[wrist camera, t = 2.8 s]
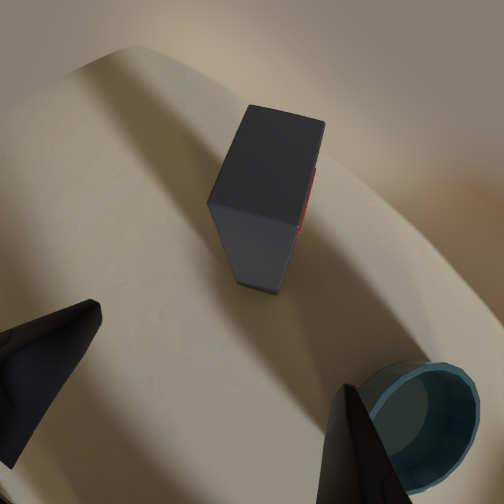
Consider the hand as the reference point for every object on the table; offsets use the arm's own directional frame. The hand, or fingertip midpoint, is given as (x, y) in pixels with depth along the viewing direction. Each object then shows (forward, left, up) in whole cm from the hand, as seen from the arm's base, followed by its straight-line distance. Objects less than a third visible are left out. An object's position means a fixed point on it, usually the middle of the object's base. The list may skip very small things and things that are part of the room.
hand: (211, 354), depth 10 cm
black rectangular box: (+5, +5, -13) cm, 15 cm away
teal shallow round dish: (+9, -12, -13) cm, 20 cm away
